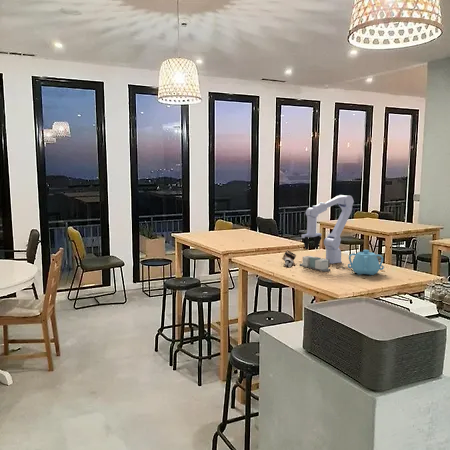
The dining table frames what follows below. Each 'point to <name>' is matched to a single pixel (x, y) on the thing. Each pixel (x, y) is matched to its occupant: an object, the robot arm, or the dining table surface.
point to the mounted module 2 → (321, 264)
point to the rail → (315, 268)
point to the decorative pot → (365, 263)
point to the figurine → (289, 258)
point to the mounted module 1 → (306, 260)
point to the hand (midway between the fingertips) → (311, 248)
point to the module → (313, 261)
